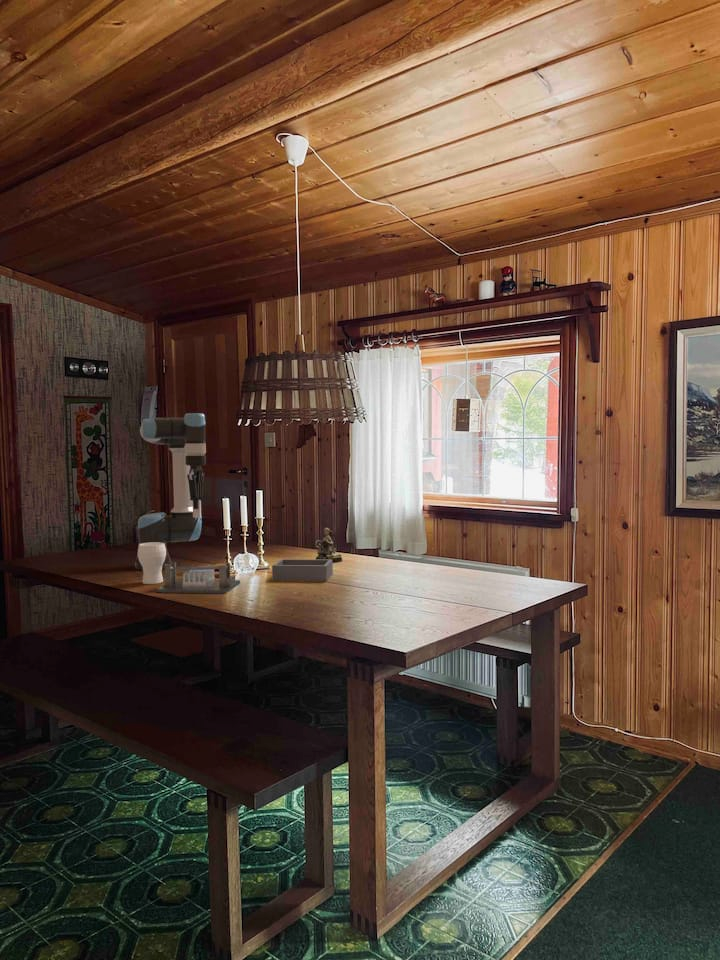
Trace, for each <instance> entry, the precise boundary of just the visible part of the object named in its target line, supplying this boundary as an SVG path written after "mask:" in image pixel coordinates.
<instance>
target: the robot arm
mask: <svg viewBox="0 0 720 960" xmlns="http://www.w3.org/2000/svg"><path fill="white" fill-rule="evenodd" d="M139 434H140V437H141V438H142V439H143V440H144V441H146V442H148V443H151V444H154V445H164V446H165V445H167V446H168V450H170V451H171V454H172V481H173V508H171V510H170V515H167V513H166V512H155V513H154V512H152V513H148V514H145V515H142V516H140V517H139V518H138V521H137V531H138V545H139V544H142V543H150V542H161V543H164V544H165V548H166V557H165V561H164V563H163V565H162V570H163V569H164V570H165V564H170V562H172V559H171V557H170V553H169V551H168V549H167V548H168V547H167V546H168V545H167V543H178V542H192V541H197V540H198V539H200V536H201V532H202V523H203V521H202V518H203V517H202V500H204V481H205V472H204V471H203V467H202V466H207V465H206V464H207V456H206V453H207V447H206V446H207V445H206V443H207V442H206V415H205V414H204V413H195V412H194V413H191V412H190V413H185V414H184V416H183V417H156V418H144V419H142V421H141V425H140V427H139ZM134 569H136V570H138V571H139V570H141V571H143V567H142V565H141V563H140V562H139V559H138V554H137V555H136V560H135V562H134Z"/></svg>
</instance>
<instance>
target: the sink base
mask: <svg viewBox="0 0 720 960" xmlns="http://www.w3.org/2000/svg"><path fill="white" fill-rule="evenodd" d="M222 564H227V565H228V568H226V565H219V569H218V579H216V577H215V569H205V570H186V571H185V572H183V573H182V579H178V578H177V571H171V566H174V567H177V561H171V562H170V564H165V569H164V584H163V585H161V586H160V587H158V588H156V589H155V592H162V594H165V593H167V594H168V593H169V594H171V593H173V594H216V595H217V594H219V595H221V594H223V595H225V594H227V593H229V592H230V591H231V590H233V589H234V588H236V587H237V586H239V585H240V584H241V580H240V579H236V575H231V562H223V563H222Z"/></svg>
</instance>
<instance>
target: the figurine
mask: <svg viewBox="0 0 720 960" xmlns="http://www.w3.org/2000/svg"><path fill="white" fill-rule="evenodd" d="M323 533H324V536H323V538H322V540H316V542H315V543H314V544H315V545H314V547H315V550H316V552H317V556H316V557H315V559H329V560H332V561H333V564H338V563H341V562H343V557H342V554H341V553H337V548H336V547H334V546H333V545H334V542H333V540H332V538H331V537H333V531H332V530H331V529H330V528H328V527H324V528H323Z"/></svg>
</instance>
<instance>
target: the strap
mask: <svg viewBox="0 0 720 960" xmlns="http://www.w3.org/2000/svg"><path fill="white" fill-rule="evenodd" d="M219 565H226V568H228V565H227V564H223V563H216V564H214V565H195V566H193V565H192V566H191V565H190V566H176V567H174V566H171V571H176V572H177V571H189V570H206V569H209V570H211V569H214V570H219Z"/></svg>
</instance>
